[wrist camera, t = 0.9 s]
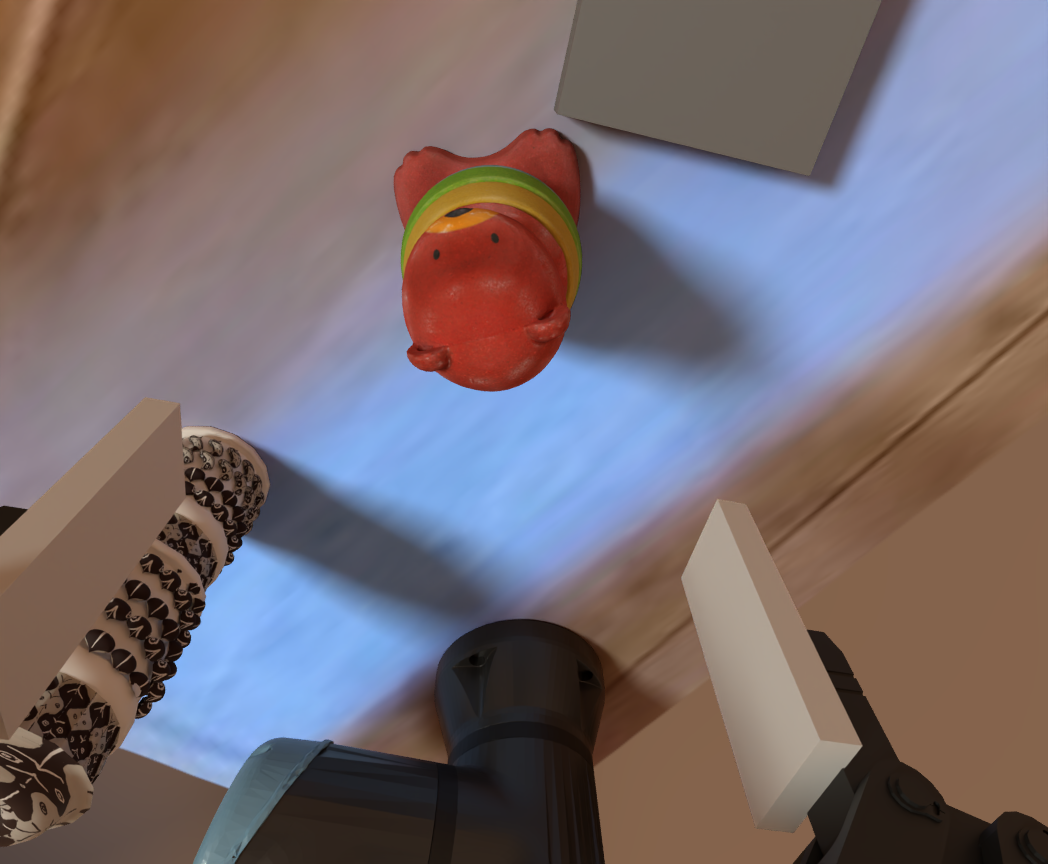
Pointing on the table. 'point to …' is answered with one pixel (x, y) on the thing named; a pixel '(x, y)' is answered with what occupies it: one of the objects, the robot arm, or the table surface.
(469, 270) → the stacking bear
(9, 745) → the decorative candle
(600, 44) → the gray block
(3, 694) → the robot arm
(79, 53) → the table surface
